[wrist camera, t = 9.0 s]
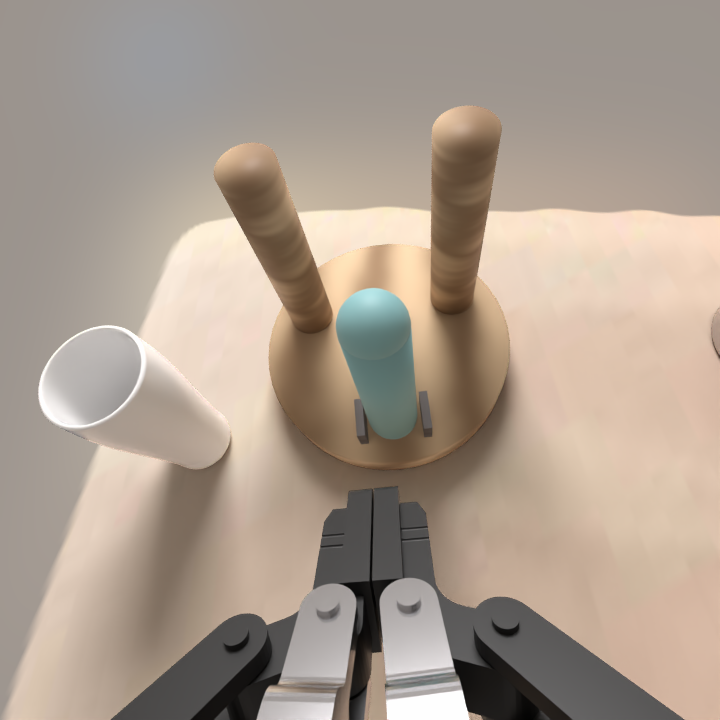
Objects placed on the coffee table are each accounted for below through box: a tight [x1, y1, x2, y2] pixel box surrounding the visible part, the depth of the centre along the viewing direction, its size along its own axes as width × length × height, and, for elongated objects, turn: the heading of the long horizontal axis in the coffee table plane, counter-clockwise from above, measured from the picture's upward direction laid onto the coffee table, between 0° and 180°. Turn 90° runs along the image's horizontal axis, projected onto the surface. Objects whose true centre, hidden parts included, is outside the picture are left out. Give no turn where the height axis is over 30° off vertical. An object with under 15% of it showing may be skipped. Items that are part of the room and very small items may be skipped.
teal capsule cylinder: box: [336, 288, 417, 439], centre depth 28 cm, size 4×4×17 cm
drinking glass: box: [38, 326, 231, 469], centre depth 34 cm, size 7×7×15 cm
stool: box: [214, 106, 510, 470], centre depth 32 cm, size 20×20×20 cm
